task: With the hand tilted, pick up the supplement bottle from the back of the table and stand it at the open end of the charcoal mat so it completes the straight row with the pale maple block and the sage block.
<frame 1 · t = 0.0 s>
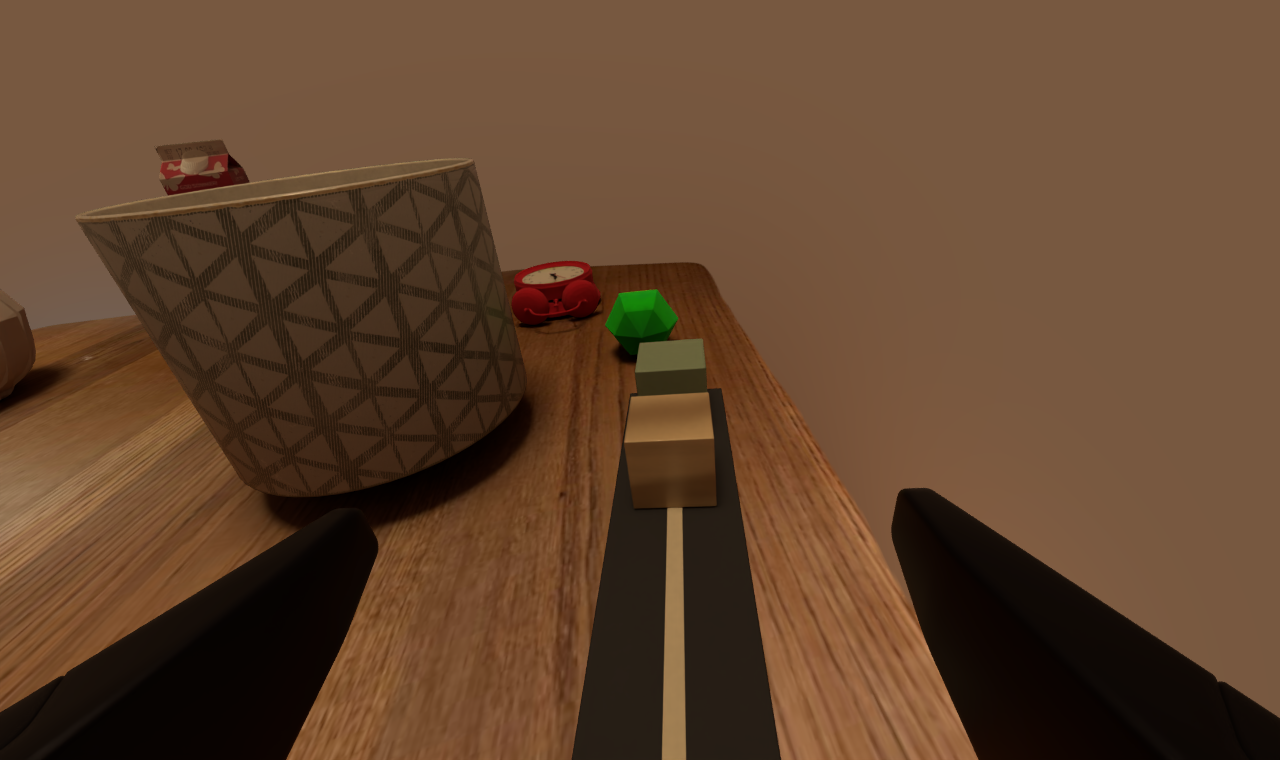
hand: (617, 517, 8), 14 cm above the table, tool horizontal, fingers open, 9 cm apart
line mat: (675, 513, 27), on the table
alarm clock: (559, 310, 59), on the table
apple: (644, 347, 47), on the table
planter: (409, 442, 37), on the table
sage block: (675, 410, 35), point 1 cm above the table, touching line mat
maple block: (674, 480, 28), point 1 cm above the table, touching line mat
juice carton: (275, 317, 68), on the table
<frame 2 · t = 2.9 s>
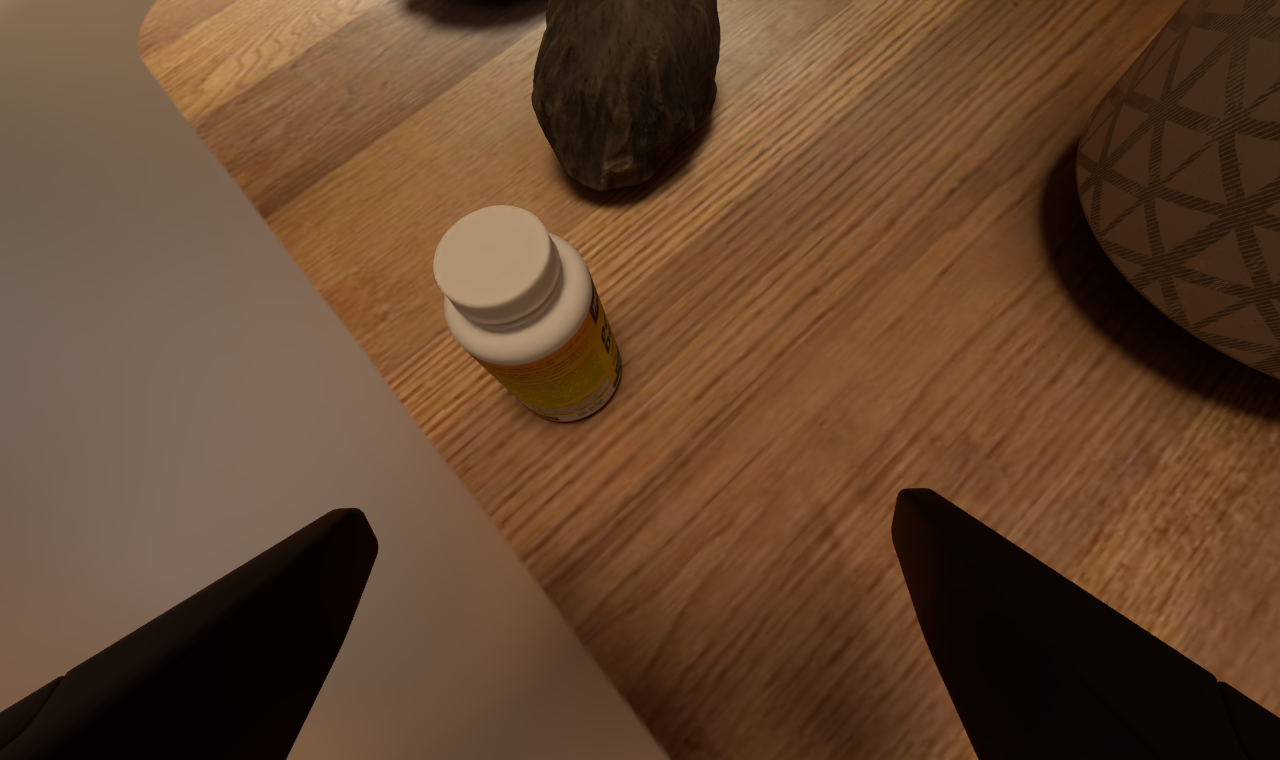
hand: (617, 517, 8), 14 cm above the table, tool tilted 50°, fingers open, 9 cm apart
supplement bottle: (571, 374, 25), on the table
planter: (1253, 246, 23), on the table
rock: (638, 137, 31), on the table
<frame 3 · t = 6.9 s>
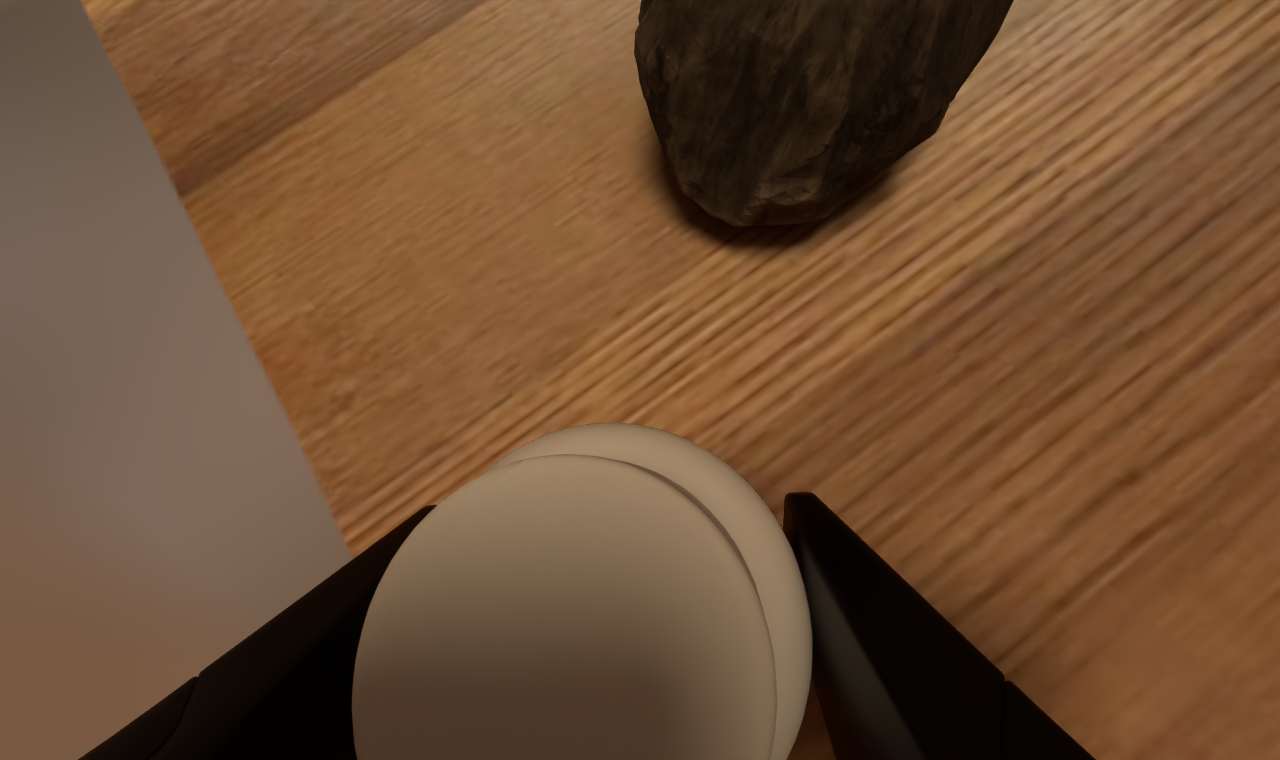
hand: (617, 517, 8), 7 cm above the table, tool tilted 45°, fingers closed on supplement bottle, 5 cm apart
supplement bottle: (655, 568, 14), on the table, touching gripper
rock: (795, 120, 18), on the table
when the fingers open (7 cm above the table, at t = 17.0 s): supplement bottle stays where it is, resting on line mat.
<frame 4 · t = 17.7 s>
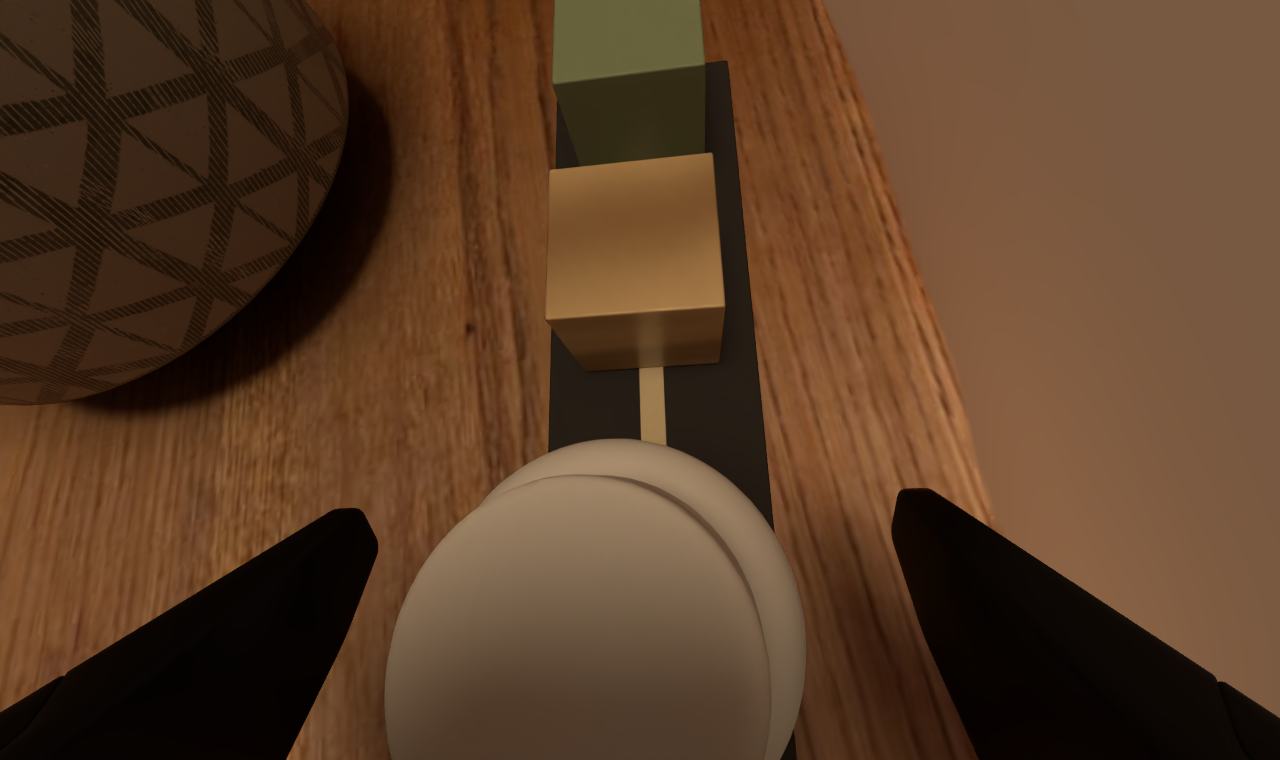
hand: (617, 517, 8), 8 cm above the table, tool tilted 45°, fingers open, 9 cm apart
line mat: (652, 366, 17), on the table
supplement bottle: (657, 572, 15), resting on line mat
planter: (198, 213, 22), on the table
sage block: (642, 129, 19), point 1 cm above the table, touching line mat
maple block: (648, 305, 17), point 1 cm above the table, touching line mat
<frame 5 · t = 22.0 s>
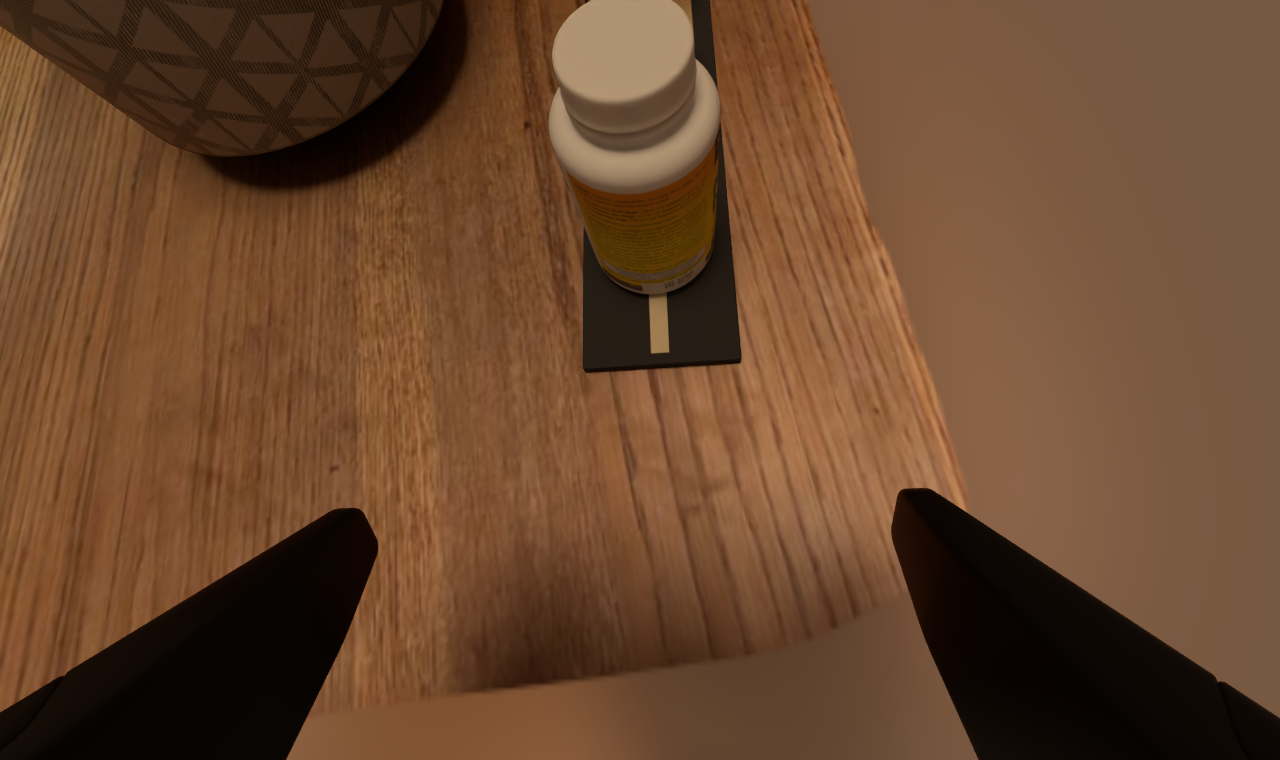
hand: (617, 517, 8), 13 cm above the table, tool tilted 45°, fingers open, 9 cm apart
line mat: (652, 139, 26), on the table
supplement bottle: (655, 247, 23), resting on line mat
planter: (325, 65, 30), on the table
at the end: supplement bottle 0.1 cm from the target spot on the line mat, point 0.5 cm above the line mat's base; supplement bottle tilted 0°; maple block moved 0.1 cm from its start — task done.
